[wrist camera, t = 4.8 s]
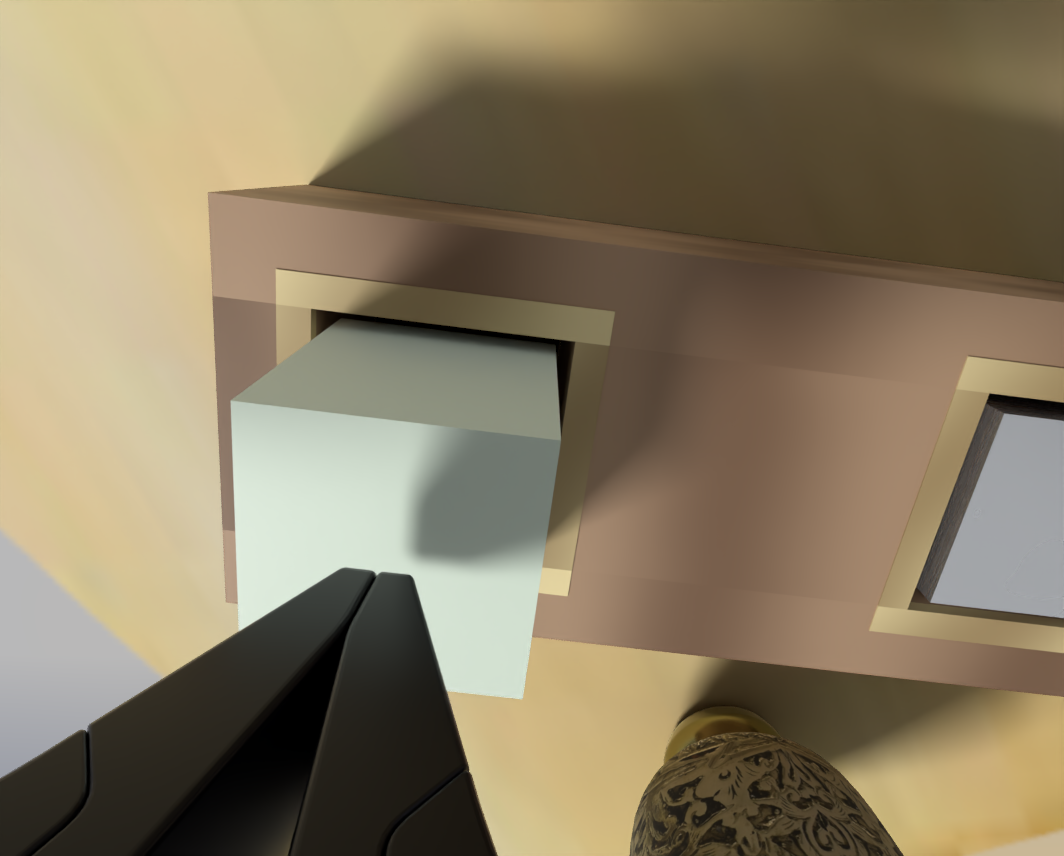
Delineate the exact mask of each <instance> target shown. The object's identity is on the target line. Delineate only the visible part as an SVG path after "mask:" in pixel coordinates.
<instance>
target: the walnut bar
mask: <svg viewBox="0 0 1064 856" xmlns="http://www.w3.org/2000/svg"><path fill="white" fill-rule="evenodd" d="M208 203H209V226H210V249H211V272H212V295H213V318H214V341H215V364H216V387H217V410H218V433H219V456H220V479H221V502H222V525H223V548H224V571H225V594H226V602H227V603H236V604H238V593H237V566H236V538H235V510H234V482H233V455H232V427H231V400H232V399H233V398H235V397H236V396H237V395H239V394H240V393H241V392H243V391H244V390H245V389H247V388H248V387H249V386H251V385H252V384H253V383H255V382H256V381H258V380H259V379H260V378H262V377H263V376H264V375H266V374H267V373H268V372H270V371H271V370H272V369H274V368H275V367H276V366H278V365H279V364H280V363H282V362H283V361H284V360H286V359H287V358H288V357H290V356H291V355H292V354H294V353H295V352H296V351H298V350H299V349H300V348H302V347H303V346H304V345H306V344H307V343H308V342H310V341H311V340H312V339H314V338H315V337H316V336H318V335H319V334H321V333H322V332H323V331H325V330H326V329H327V328H329V327H330V326H331V325H333V324H334V323H335V322H337V321H338V320H339V319H341V318H345V319H353V320H361V321H369V322H375V317H382V318H390V319H398V320H406V321H414V322H422V323H430V324H438V325H446V326H454V327H462V328H470V329H478V330H486V331H494V332H502V333H510V334H518V335H526V336H534V337H542V338H550V339H558V340H560V344H559V351H558V359H557V380H558V397H559V414H560V431H561V444H560V451H559V458H558V465H557V471H556V478H555V485H554V491H553V498H552V505H551V512H550V518H549V525H548V532H547V538H546V545H545V552H544V559H543V565H542V572H541V579H540V585H539V592H538V599H537V606H536V612H535V619H534V626H533V632H532V637H538V638H546V639H555V640H564V641H573V642H582V643H591V644H600V645H609V646H617V647H626V648H635V649H644V650H653V651H662V652H671V653H680V654H688V655H697V656H706V657H715V658H724V659H733V660H742V661H751V662H759V663H768V664H777V665H786V666H795V667H804V668H813V669H822V670H830V671H839V672H848V673H857V674H866V675H875V676H884V677H893V678H901V679H910V680H919V681H928V682H937V683H946V684H955V685H964V686H972V687H981V688H990V689H999V690H1008V691H1017V692H1026V693H1035V694H1043V695H1052V696H1061V697H1064V618H1059V617H1050V616H1041V615H1033V614H1024V613H1015V612H1007V611H998V610H990V609H981V608H972V607H964V606H955V605H946V604H938V603H930V602H929V601H928V600H927V598H926V597H925V596H924V595H923V594H922V593H921V592H920V590H919V589H918V588H917V587H916V586H917V583H918V580H919V578H920V575H921V573H922V570H923V567H924V565H925V562H926V559H927V557H928V554H929V551H930V549H931V546H932V544H933V541H934V538H935V536H936V533H937V530H938V528H939V525H940V523H941V520H942V517H943V515H944V512H945V509H946V507H947V504H948V501H949V499H950V496H951V494H952V491H953V488H954V486H955V483H956V480H957V478H958V475H959V472H960V470H961V467H962V465H963V462H964V459H965V457H966V454H967V451H968V449H969V446H970V443H971V441H972V438H973V436H974V433H975V430H976V428H977V425H978V422H979V420H980V417H981V415H982V412H983V409H984V407H985V404H986V401H987V399H988V396H989V393H991V394H999V395H1007V396H1015V397H1023V398H1031V399H1039V400H1047V401H1055V402H1063V403H1064V283H1062V282H1054V281H1047V280H1039V279H1031V278H1023V277H1016V276H1008V275H1000V274H993V273H985V272H977V271H969V270H962V269H954V268H946V267H939V266H931V265H923V264H915V263H908V262H900V261H892V260H885V259H877V258H869V257H861V256H854V255H846V254H838V253H831V252H823V251H815V250H807V249H800V248H792V247H784V246H777V245H769V244H761V243H753V242H746V241H738V240H730V239H723V238H715V237H707V236H699V235H692V234H684V233H676V232H669V231H661V230H653V229H645V228H638V227H630V226H622V225H615V224H607V223H599V222H591V221H584V220H576V219H568V218H561V217H553V216H545V215H537V214H530V213H522V212H514V211H507V210H499V209H491V208H483V207H476V206H468V205H460V204H452V203H445V202H437V201H429V200H422V199H414V198H406V197H398V196H391V195H383V194H375V193H368V192H360V191H352V190H344V189H337V188H329V187H321V186H314V185H296V186H283V187H270V188H258V189H245V190H232V191H219V192H208Z"/></svg>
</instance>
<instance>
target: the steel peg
mask: <svg viewBox="0 0 1064 856" xmlns="http://www.w3.org/2000/svg"><path fill="white" fill-rule="evenodd" d="M916 587H917V588H918V589H919V590H920V592H921V593H922V594H923V595H924V596H925V597H926V598H927V600H928V601H929V602H930V603H938V604H946V605H955V606H964V607H972V608H981V609H990V610H998V611H1007V612H1015V613H1024V614H1033V615H1041V616H1050V617H1059V618H1064V403H1063V402H1055V401H1047V400H1039V399H1031V398H1023V397H1015V396H1007V395H999V394H991V393H989V396H988V399H987V401H986V404H985V407H984V409H983V412H982V415H981V417H980V420H979V422H978V425H977V428H976V430H975V433H974V436H973V438H972V441H971V443H970V446H969V449H968V451H967V454H966V457H965V459H964V462H963V465H962V467H961V470H960V472H959V475H958V478H957V480H956V483H955V486H954V488H953V491H952V494H951V496H950V499H949V501H948V504H947V507H946V509H945V512H944V515H943V517H942V520H941V523H940V525H939V528H938V530H937V533H936V536H935V538H934V541H933V544H932V546H931V549H930V551H929V554H928V557H927V559H926V562H925V565H924V567H923V570H922V573H921V575H920V578H919V580H918V583H917V586H916Z"/></svg>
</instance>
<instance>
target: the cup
mask: <svg viewBox="0 0 1064 856" xmlns="http://www.w3.org/2000/svg"><path fill="white" fill-rule="evenodd" d="M630 856H904V855H903V854H902V853H901V851H900V850H899V848H898V847H897V845H896V844H895V842H894V841H893V839H892V838H891V836H890V835H889V833H888V832H887V830H886V829H885V828H884V826H883V825H882V823H881V822H880V821H879V819H878V818H877V816H876V815H875V813H874V812H873V811H872V809H871V808H870V807H869V805H868V804H867V803H866V802H865V800H864V799H863V798H862V796H861V795H860V794H859V793H858V792H857V790H856V789H855V788H854V787H853V786H852V785H851V784H850V783H849V782H848V781H847V780H846V778H845V777H844V776H843V775H842V774H841V773H840V772H839V771H838V770H837V769H835V768H834V767H833V766H832V765H830V764H829V763H828V762H827V761H826V760H824V759H823V758H822V757H821V756H819V755H817V754H816V753H814V752H813V751H811V750H809V749H807V748H805V747H803V746H801V745H799V744H797V743H795V742H793V741H790V740H788V739H785V738H781V736H780V735H779V733H778V732H777V731H776V730H775V729H774V728H773V727H772V726H771V725H770V724H769V723H768V722H766V721H765V720H764V719H763V718H761V717H760V716H758V715H757V714H755V713H753V712H751V711H749V710H746V709H743V708H739V707H733V706H717V707H711V708H706V709H703V710H700V711H698V712H696V713H694V714H692V715H690V716H689V717H687V718H686V719H684V720H683V721H682V722H681V723H680V724H679V725H678V726H677V727H676V729H675V730H674V732H673V733H672V735H671V737H670V739H669V742H668V745H667V748H666V751H665V756H664V765H663V766H662V767H661V768H660V769H659V770H658V772H657V773H656V774H655V776H654V777H653V779H652V780H651V782H650V783H649V785H648V786H647V788H646V790H645V792H644V794H643V796H642V798H641V801H640V804H639V807H638V810H637V813H636V816H635V820H634V826H633V832H632V838H631V845H630Z"/></svg>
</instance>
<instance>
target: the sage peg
mask: <svg viewBox="0 0 1064 856" xmlns="http://www.w3.org/2000/svg"><path fill="white" fill-rule="evenodd" d="M231 427H232V455H233V482H234V510H235V538H236V566H237V593H238V621H239V631H240V630H242V629H244V628H245V627H247V626H248V625H250V624H252V623H253V622H255V621H256V620H258V619H260V618H261V617H263V616H264V615H266V614H268V613H269V612H271V611H272V610H274V609H276V608H277V607H279V606H281V605H282V604H284V603H285V602H287V601H289V600H290V599H292V598H293V597H295V596H297V595H298V594H300V593H301V592H303V591H305V590H306V589H308V588H310V587H311V586H313V585H314V584H316V583H318V582H319V581H321V580H322V579H324V578H326V577H327V576H329V575H330V574H332V573H334V572H335V571H337V570H339V569H341V568H344V567H348V568H356V569H365V570H372V571H374V572H375V573H376V575H378V574H379V573H380V572H391V573H400V574H409V575H411V576H412V577H413V578H414V581H415V584H416V587H417V591H418V594H419V598H420V601H421V605H422V608H423V611H424V615H425V618H426V622H427V625H428V629H429V632H430V635H431V639H432V642H433V646H434V649H435V653H436V656H437V659H438V663H439V666H440V670H441V673H442V677H443V680H444V683H445V687H446V690H447V691H452V692H461V693H470V694H479V695H488V696H497V697H506V698H515V699H523V693H524V686H525V680H526V673H527V666H528V659H529V653H530V646H531V639H532V632H533V626H534V619H535V612H536V606H537V599H538V592H539V585H540V579H541V572H542V565H543V559H544V552H545V545H546V538H547V532H548V525H549V518H550V512H551V505H552V498H553V491H554V485H555V478H556V471H557V465H558V458H559V451H560V444H561V431H560V414H559V397H558V380H557V363H556V347H555V345H554V344H546V343H538V342H530V341H522V340H514V339H506V338H498V337H490V336H482V335H474V334H466V333H458V332H450V331H442V330H434V329H426V328H418V327H409V326H401V325H393V324H385V323H377V322H369V321H361V320H353V319H345V318H341V319H339V320H338V321H337V322H335V323H334V324H333V325H331V326H330V327H329V328H327V329H326V330H325V331H323V332H322V333H321V334H319V335H318V336H316V337H315V338H314V339H312V340H311V341H310V342H308V343H307V344H306V345H304V346H303V347H302V348H300V349H299V350H298V351H296V352H295V353H294V354H292V355H291V356H290V357H288V358H287V359H286V360H284V361H283V362H282V363H280V364H279V365H278V366H276V367H275V368H274V369H272V370H271V371H270V372H268V373H267V374H266V375H264V376H263V377H262V378H260V379H259V380H258V381H256V382H255V383H253V384H252V385H251V386H249V387H248V388H247V389H245V390H244V391H243V392H241V393H240V394H239V395H237V396H236V397H235V398H233V399H232V400H231Z"/></svg>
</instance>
